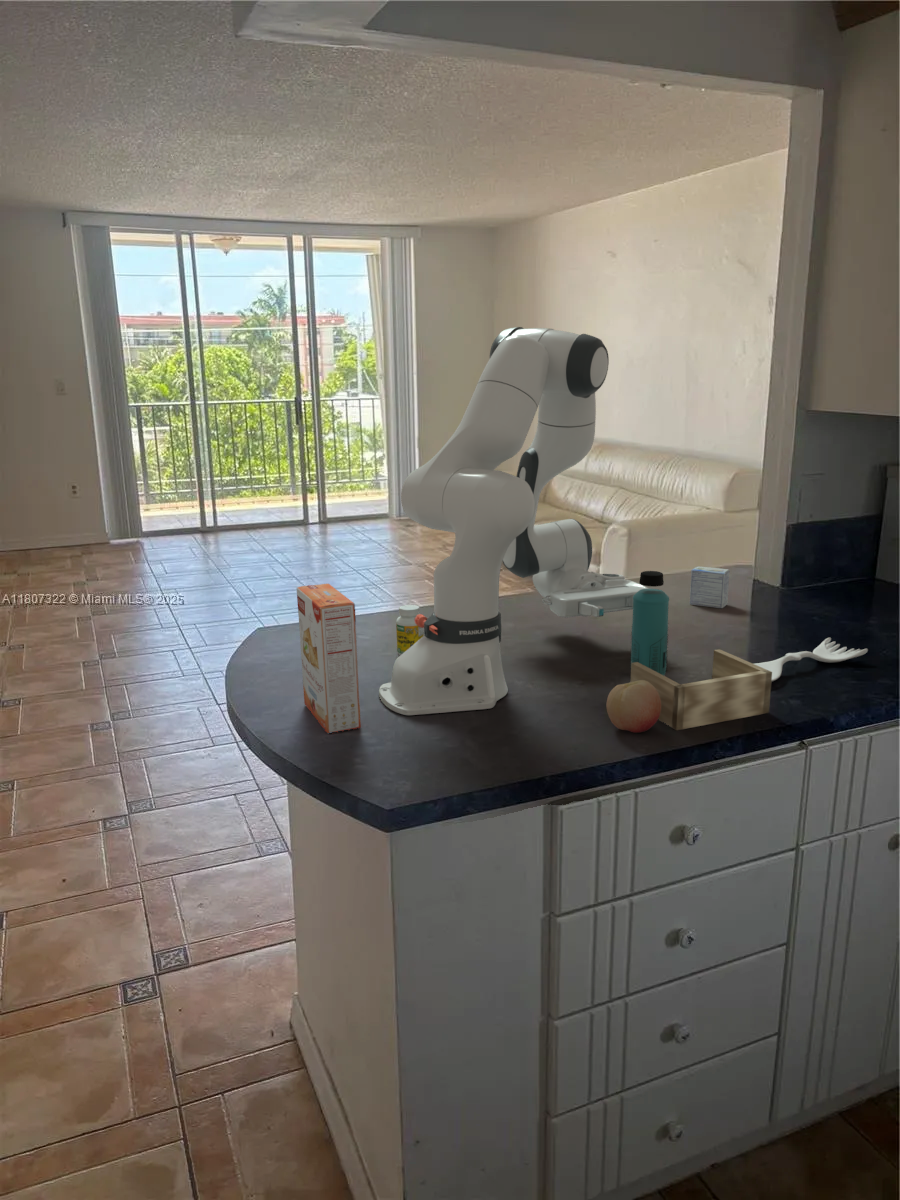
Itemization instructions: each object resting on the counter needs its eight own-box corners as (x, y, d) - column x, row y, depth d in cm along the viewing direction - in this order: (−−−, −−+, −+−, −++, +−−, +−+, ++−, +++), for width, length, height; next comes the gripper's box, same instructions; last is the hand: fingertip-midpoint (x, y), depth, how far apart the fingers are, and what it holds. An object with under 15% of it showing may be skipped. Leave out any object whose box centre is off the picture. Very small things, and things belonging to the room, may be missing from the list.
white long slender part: (868, 664, 166) (870, 647, 165) (746, 695, 151) (748, 676, 150) (827, 651, 173) (829, 635, 172) (708, 680, 158) (709, 662, 158)
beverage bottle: (666, 687, 154) (672, 576, 149) (628, 685, 156) (633, 575, 151) (665, 675, 160) (671, 568, 155) (628, 673, 162) (633, 567, 157)
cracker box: (301, 705, 148) (294, 585, 143) (336, 700, 150) (330, 581, 145) (324, 736, 136) (318, 605, 130) (362, 729, 138) (356, 601, 133)
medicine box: (727, 604, 207) (730, 569, 205) (722, 609, 204) (725, 572, 202) (694, 600, 211) (696, 565, 209) (689, 604, 208) (691, 569, 206)
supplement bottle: (428, 651, 176) (427, 605, 173) (417, 659, 171) (416, 611, 169) (404, 648, 178) (403, 602, 176) (392, 656, 173) (391, 609, 171)
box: (676, 730, 136) (678, 688, 134) (629, 702, 148) (631, 662, 146) (768, 712, 142) (772, 672, 141) (716, 687, 154) (719, 649, 152)
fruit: (627, 715, 142) (629, 669, 140) (669, 730, 136) (672, 681, 134) (596, 729, 137) (597, 681, 135) (637, 744, 131) (640, 694, 129)
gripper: (538, 583, 171) (573, 599, 159) (627, 573, 178) (668, 588, 166) (537, 614, 173) (573, 632, 160) (626, 603, 180) (666, 620, 168)
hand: (622, 609), depth 163 cm, fingers open, 8 cm apart
